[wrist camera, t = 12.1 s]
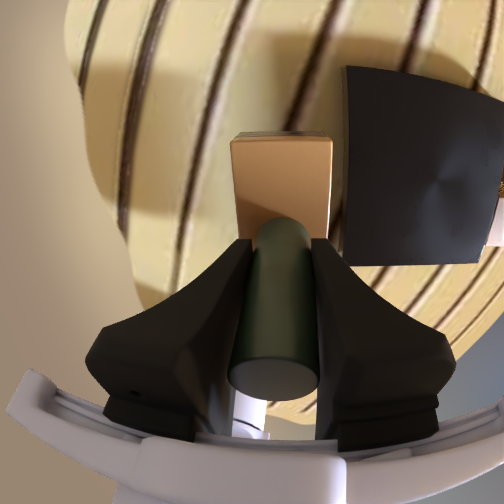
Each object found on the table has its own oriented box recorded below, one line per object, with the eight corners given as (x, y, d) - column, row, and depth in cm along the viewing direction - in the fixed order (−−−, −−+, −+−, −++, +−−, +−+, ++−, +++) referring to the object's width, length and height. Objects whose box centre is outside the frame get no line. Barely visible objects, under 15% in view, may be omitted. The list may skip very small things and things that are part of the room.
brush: (316, 283, 16) (324, 435, 9) (251, 282, 17) (222, 430, 9) (324, 131, 12) (399, 224, 4) (239, 132, 12) (145, 223, 4)
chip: (506, 239, 15) (514, 247, 14) (477, 237, 16) (485, 246, 15) (519, 196, 13) (527, 202, 12) (490, 190, 13) (499, 197, 12)
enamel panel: (469, 252, 16) (478, 263, 15) (337, 254, 18) (341, 266, 17) (495, 100, 10) (508, 104, 9) (340, 67, 12) (346, 64, 10)
